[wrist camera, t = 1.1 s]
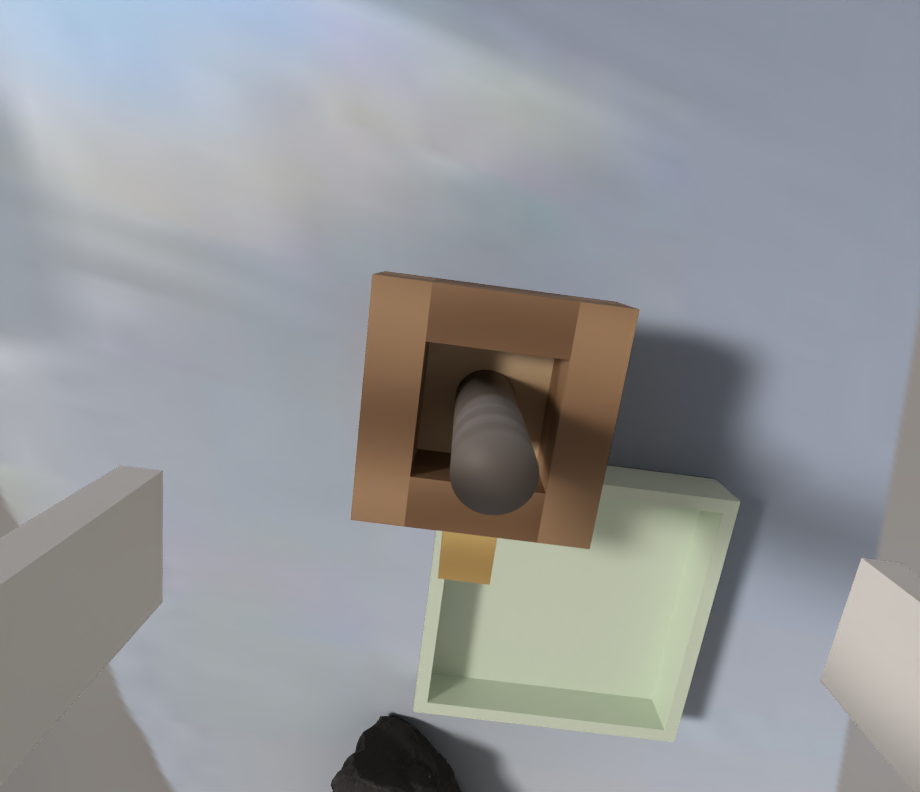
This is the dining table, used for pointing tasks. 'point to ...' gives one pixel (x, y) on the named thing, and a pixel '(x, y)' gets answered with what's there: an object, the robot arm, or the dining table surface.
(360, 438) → the ring
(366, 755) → the mineral
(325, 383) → the dining table surface
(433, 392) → the block with upright handle
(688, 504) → the tray
